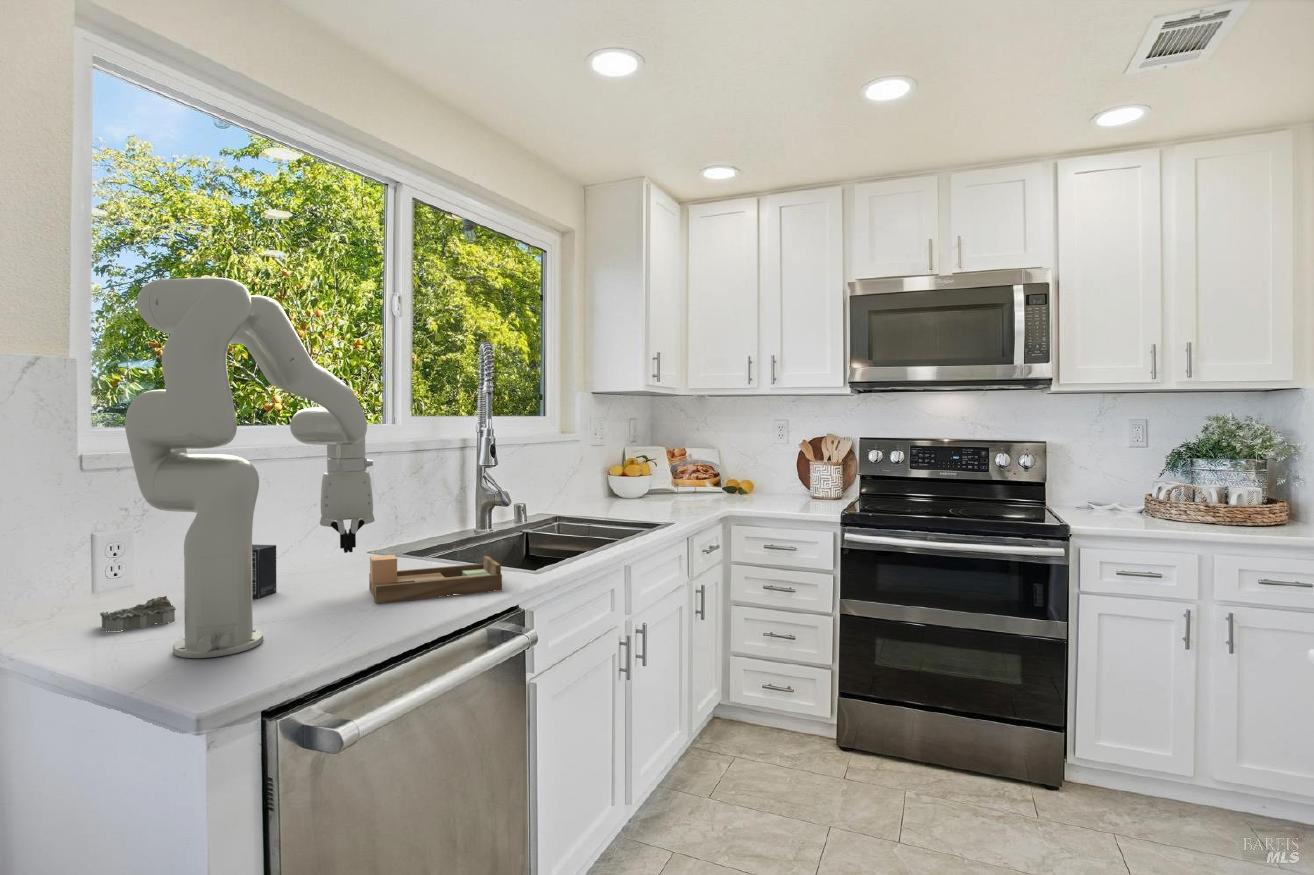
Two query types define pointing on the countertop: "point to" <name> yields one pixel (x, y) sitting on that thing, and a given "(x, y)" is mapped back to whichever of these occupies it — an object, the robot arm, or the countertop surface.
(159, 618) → the egg carton
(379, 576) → the block
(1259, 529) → the countertop surface
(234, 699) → the countertop surface
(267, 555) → the small box
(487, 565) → the wooden desk organizer
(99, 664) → the countertop surface
